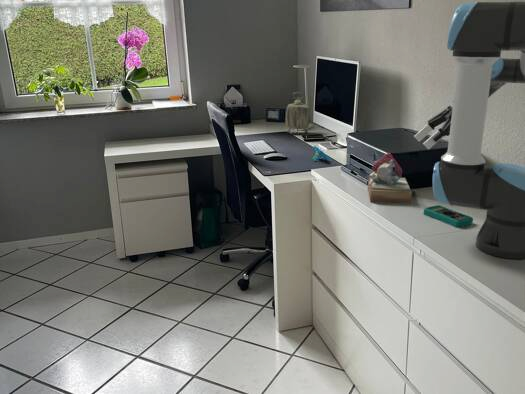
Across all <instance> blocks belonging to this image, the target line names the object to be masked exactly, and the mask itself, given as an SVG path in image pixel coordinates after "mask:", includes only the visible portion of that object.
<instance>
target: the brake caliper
mask: <svg viewBox="0 0 525 394" xmlns="http://www.w3.org/2000/svg"><path fill="white" fill-rule="evenodd" d="M402 174H403V169H402V168H401V166H400V165H399V163H398V162H397V160H396V159H395V158H394V157H393V154H391V153H390V152H387V153H386V154H384V155H383V156H382V157H381V158H379V160H377V161H376V162H375V163H374V164H373V165H372V172H371V173H370V174H369V176H368V178H369V177H370V178H371V179H372V181H370V182H369V184H372V183H374V182H375V183H379V184H387V185H395V184H396V182H397V181H398V180H399V179H400V178H402Z"/></svg>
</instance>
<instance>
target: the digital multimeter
mask: <svg viewBox="0 0 525 394" xmlns="http://www.w3.org/2000/svg"><path fill="white" fill-rule="evenodd" d="M423 215H424V216H426V217H429V218H431V219H435V220H437V221H439V222H442V223H444V224H448V225H450V226H452V227H454V228H456V229H457V228H463V227H469V226H471V225H472V224H473V223H474V218H473V217H472V216H470V215H467V214H464V213H462V212H458V211H457V210H456V211H455V210H453V209H451V208H447V207H446V206H443V205H432V206H428V207H426V208H424V209H423Z"/></svg>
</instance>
